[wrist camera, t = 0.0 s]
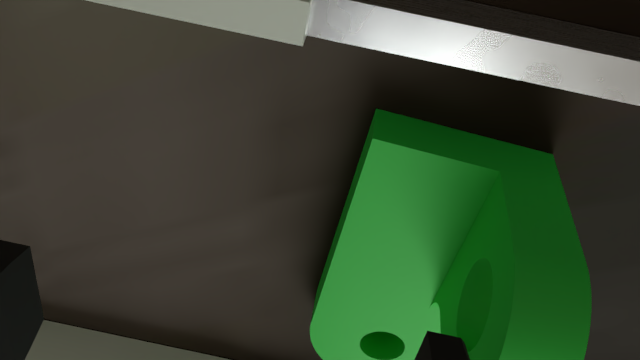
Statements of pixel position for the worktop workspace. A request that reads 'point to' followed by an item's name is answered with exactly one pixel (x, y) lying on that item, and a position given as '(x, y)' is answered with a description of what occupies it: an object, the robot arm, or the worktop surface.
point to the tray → (209, 10)
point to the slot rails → (488, 42)
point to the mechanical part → (452, 251)
